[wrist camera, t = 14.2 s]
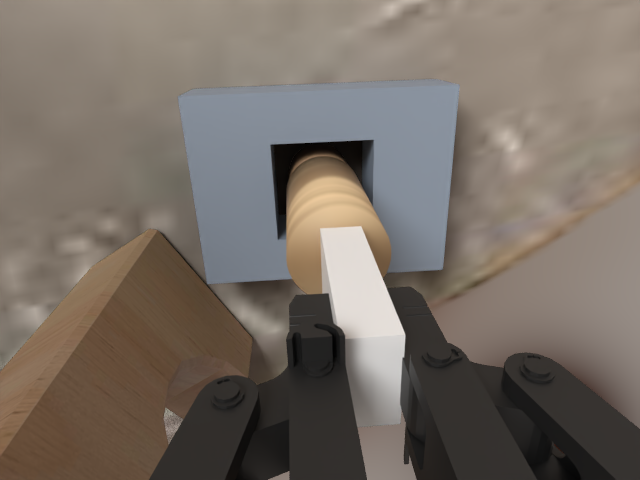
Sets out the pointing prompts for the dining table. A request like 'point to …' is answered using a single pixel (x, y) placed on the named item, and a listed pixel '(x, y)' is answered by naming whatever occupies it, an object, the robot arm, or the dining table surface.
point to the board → (308, 127)
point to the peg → (326, 213)
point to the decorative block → (115, 368)
